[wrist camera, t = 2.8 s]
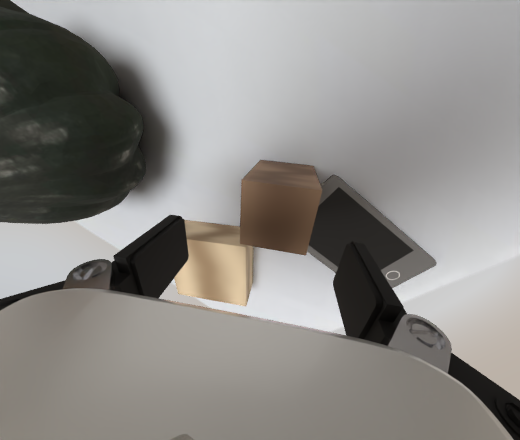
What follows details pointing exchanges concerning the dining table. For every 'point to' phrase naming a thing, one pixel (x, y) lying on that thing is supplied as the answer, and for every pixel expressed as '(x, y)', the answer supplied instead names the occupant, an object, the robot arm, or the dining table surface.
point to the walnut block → (279, 206)
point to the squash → (61, 125)
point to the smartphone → (363, 234)
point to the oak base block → (216, 264)
